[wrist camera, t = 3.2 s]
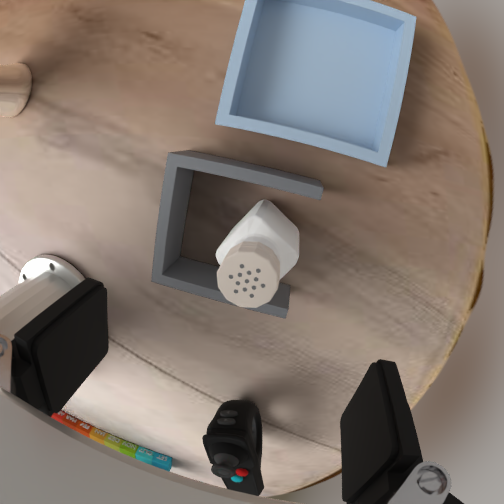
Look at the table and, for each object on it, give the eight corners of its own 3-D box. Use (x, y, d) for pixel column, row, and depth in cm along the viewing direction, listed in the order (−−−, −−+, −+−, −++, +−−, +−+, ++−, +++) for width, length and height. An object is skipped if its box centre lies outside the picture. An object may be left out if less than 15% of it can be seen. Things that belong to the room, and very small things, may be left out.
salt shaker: (265, 194, 24) (244, 226, 16) (302, 231, 25) (303, 282, 16) (230, 230, 26) (193, 279, 17) (266, 264, 26) (248, 328, 17)
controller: (259, 376, 30) (242, 457, 21) (272, 448, 34) (263, 516, 25) (217, 377, 31) (189, 453, 22) (238, 447, 35) (222, 513, 26)
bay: (287, 293, 27) (285, 318, 23) (170, 262, 27) (151, 281, 24) (319, 180, 23) (323, 188, 20) (187, 150, 24) (168, 152, 20)
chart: (172, 455, 38) (138, 539, 24) (171, 465, 39) (140, 544, 25) (12, 379, 40) (-38, 431, 26) (16, 391, 41) (-30, 442, 27)
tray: (376, 164, 22) (386, 167, 20) (225, 125, 23) (214, 124, 20) (404, 29, 18) (416, 16, 15) (257, -8, 19) (252, -24, 16)
